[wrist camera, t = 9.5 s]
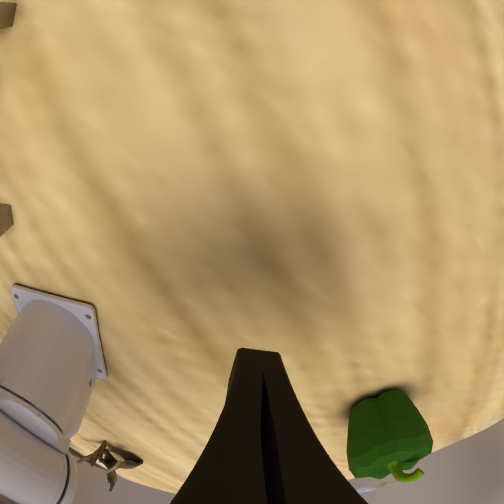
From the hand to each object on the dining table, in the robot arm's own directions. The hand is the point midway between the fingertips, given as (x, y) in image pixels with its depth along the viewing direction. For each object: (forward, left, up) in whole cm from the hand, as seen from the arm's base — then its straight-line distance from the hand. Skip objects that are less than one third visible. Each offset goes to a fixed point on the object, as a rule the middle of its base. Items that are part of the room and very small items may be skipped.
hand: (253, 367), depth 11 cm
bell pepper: (-17, -17, -10) cm, 26 cm away
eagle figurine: (-40, +12, -10) cm, 43 cm away
